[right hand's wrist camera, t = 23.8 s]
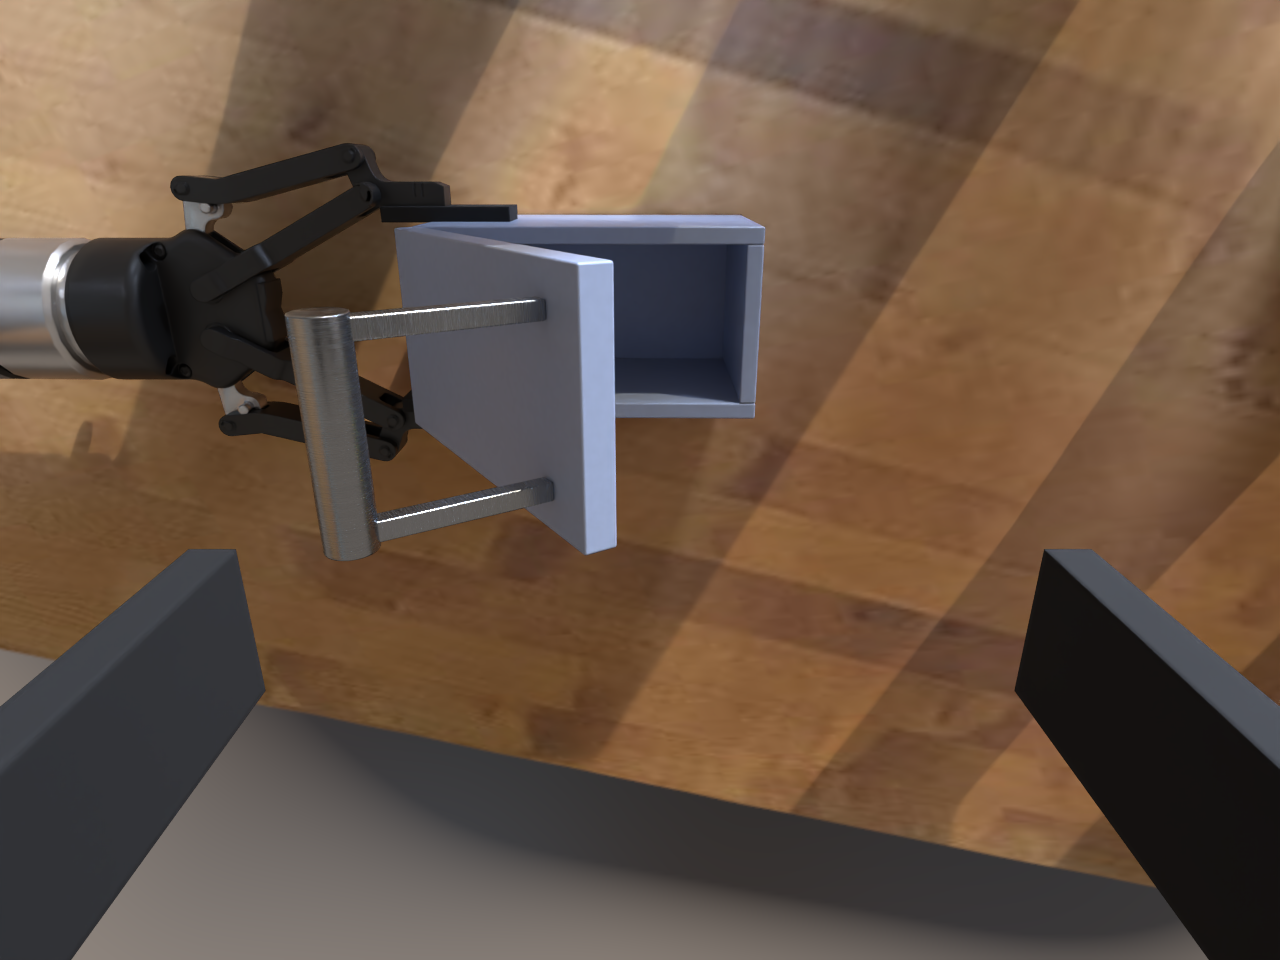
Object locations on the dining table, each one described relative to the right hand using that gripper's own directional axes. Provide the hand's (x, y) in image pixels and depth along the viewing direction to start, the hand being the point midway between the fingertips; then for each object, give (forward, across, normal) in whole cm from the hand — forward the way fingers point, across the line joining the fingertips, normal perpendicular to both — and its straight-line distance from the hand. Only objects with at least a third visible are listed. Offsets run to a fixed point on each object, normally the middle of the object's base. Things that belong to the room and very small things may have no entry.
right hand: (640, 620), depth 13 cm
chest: (+38, -2, 0) cm, 38 cm away
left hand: (+32, -7, 0) cm, 32 cm away
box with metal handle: (+19, -5, 0) cm, 20 cm away
